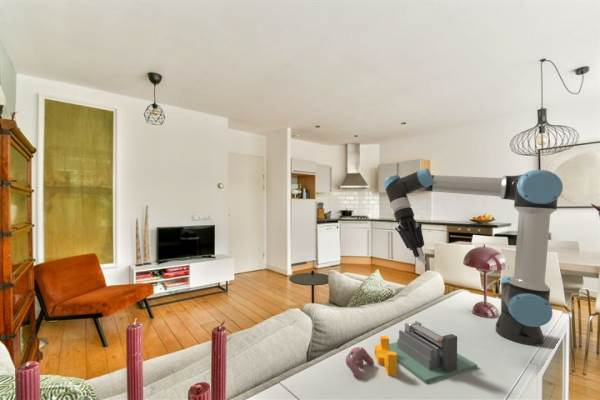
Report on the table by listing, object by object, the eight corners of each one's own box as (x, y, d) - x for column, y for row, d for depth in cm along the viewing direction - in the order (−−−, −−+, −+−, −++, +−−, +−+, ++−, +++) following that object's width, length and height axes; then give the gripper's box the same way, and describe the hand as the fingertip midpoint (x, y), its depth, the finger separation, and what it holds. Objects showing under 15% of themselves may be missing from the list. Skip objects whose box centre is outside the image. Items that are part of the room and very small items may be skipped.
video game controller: (364, 366, 92) (356, 344, 94) (376, 364, 90) (367, 341, 92) (349, 380, 84) (341, 356, 86) (362, 379, 82) (352, 354, 84)
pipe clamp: (374, 354, 97) (374, 335, 97) (387, 354, 97) (387, 336, 97) (382, 375, 85) (382, 354, 85) (396, 376, 85) (396, 355, 85)
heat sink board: (426, 338, 109) (426, 308, 109) (477, 367, 90) (477, 332, 90) (380, 348, 100) (380, 316, 100) (425, 383, 81) (425, 344, 81)
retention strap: (414, 326, 102) (414, 320, 102) (449, 346, 89) (449, 339, 89) (407, 327, 101) (408, 322, 101) (441, 347, 87) (441, 341, 87)
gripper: (407, 212, 125) (427, 264, 116) (385, 214, 120) (403, 269, 111) (419, 205, 119) (441, 260, 110) (396, 207, 114) (417, 264, 105)
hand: (422, 264), depth 111 cm, fingers closed
